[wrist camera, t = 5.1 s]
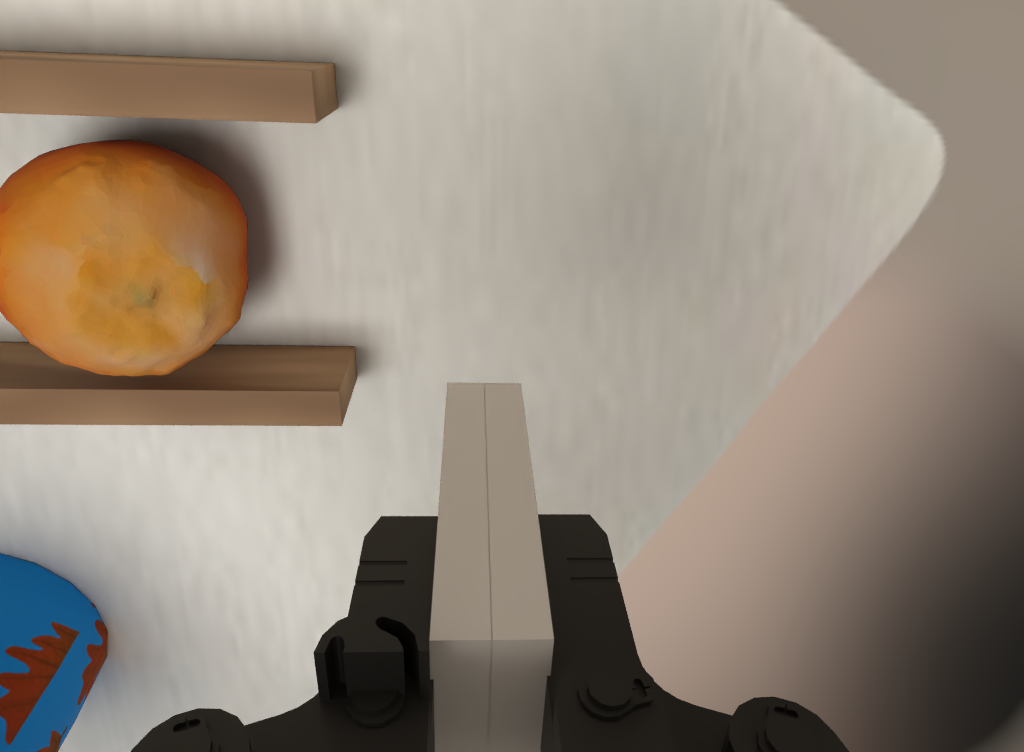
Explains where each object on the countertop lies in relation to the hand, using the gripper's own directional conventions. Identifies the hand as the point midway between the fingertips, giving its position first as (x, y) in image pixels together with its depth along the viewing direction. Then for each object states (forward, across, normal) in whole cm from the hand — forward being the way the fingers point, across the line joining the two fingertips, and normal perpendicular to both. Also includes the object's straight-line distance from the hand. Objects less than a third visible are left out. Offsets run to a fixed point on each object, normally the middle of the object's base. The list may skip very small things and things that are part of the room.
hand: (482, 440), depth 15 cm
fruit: (+15, +12, 0) cm, 19 cm away
